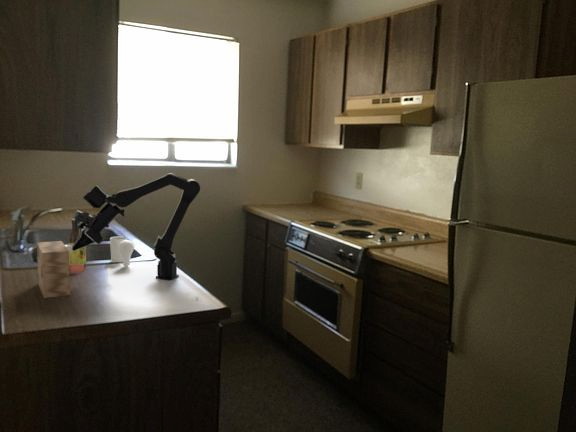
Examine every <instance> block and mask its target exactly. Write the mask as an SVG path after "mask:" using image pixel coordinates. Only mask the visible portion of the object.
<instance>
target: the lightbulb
mask: <svg viewBox="0 0 576 432" xmlns="http://www.w3.org/2000/svg"><path fill="white" fill-rule="evenodd" d="M118 249H119V251H120V253H121V255H122V260H123V262H122V263H123V264H122V265H123V266H124V267H129V266H131V265H130V263H131V261H130V260H131V259H132V258H131V257H132V254H133V252H134V250H135V245H134V243H133V241H131V240H130V239H129V240H128V239H126V240H123V241H122V242H120V244H119V246H118Z"/></svg>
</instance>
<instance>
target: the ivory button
mask: <svg viewBox="0 0 576 432" xmlns="http://www.w3.org/2000/svg"><path fill="white" fill-rule="evenodd" d="M64 245H65V246H66V248H67V249H68V251H69V253H72V245H69V244H64Z"/></svg>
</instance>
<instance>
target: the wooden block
mask: <svg viewBox="0 0 576 432" xmlns="http://www.w3.org/2000/svg"><path fill="white" fill-rule="evenodd" d="M65 245H66V244H64V242H63V241H62V240H55V241H40V242H39V241H36V254H37V260H36V261H37V284H38V287H39V289H40V292H41V294H42V296H43V298H44V299H45V298H46V299H47V298H55V297H56V298H57V297H64V296H70V295H71V284H70V283H71V281H70V280H71V279H70V278H71V277H70V275H71V274H69V265H70V264H69V251H68V249H67V248H66V246H65Z"/></svg>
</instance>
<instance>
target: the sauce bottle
mask: <svg viewBox="0 0 576 432" xmlns="http://www.w3.org/2000/svg"><path fill="white" fill-rule="evenodd" d="M80 222H81V221H76V220H74V218H72V219H71V227H72V228H71V232H70V234H69V237H68V245H72V247H73V245H74V243H75V242H76V240H77V238H78V236H79V229H80V230H81V228H80V227H79V226H78V224H79V223H80ZM75 264H84V268H85V269H86V264H87V245H86V246H84V247H81V248H79V249H77V250H72V253H69V265H75Z"/></svg>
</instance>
